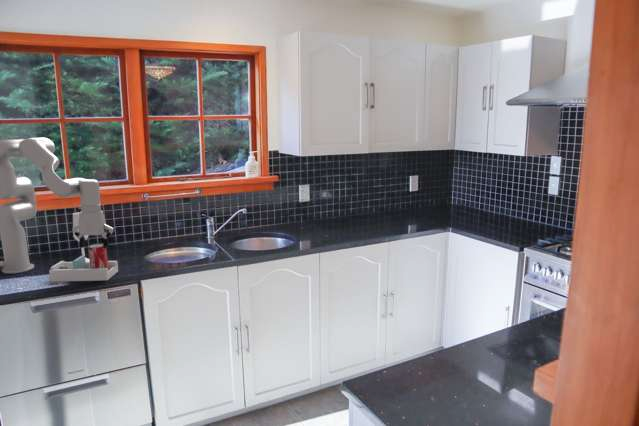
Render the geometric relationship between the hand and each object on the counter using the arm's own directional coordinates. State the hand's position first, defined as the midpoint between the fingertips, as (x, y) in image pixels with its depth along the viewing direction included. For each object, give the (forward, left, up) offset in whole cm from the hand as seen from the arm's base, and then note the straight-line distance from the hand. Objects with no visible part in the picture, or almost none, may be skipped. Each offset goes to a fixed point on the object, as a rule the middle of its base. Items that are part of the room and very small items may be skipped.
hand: (94, 246), depth 203 cm
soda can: (+1, 0, -12) cm, 12 cm away
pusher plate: (-7, 0, -12) cm, 14 cm away
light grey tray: (-5, 0, -13) cm, 14 cm away
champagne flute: (-16, +23, -14) cm, 31 cm away
